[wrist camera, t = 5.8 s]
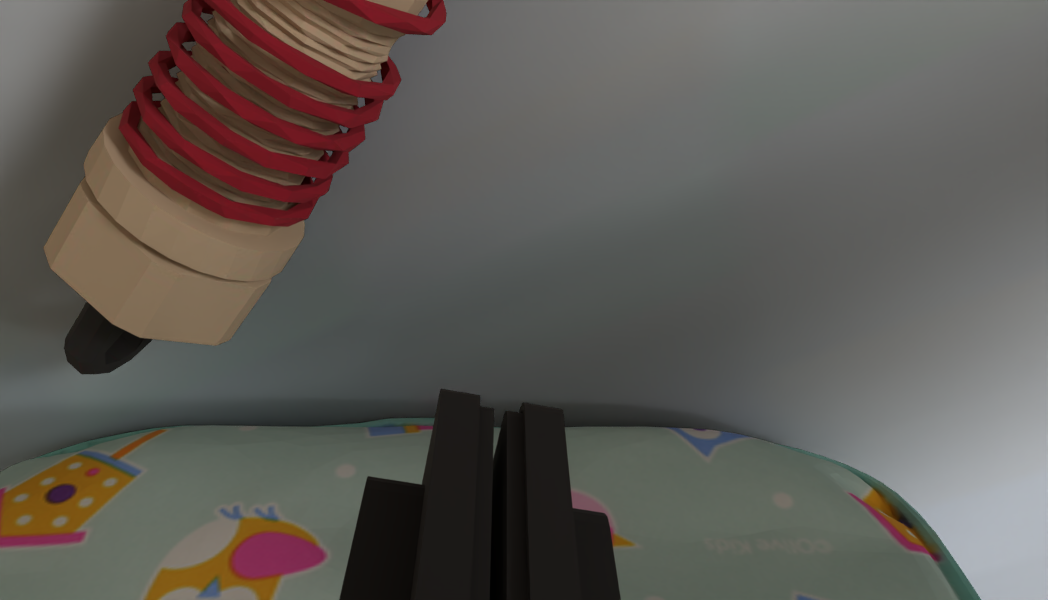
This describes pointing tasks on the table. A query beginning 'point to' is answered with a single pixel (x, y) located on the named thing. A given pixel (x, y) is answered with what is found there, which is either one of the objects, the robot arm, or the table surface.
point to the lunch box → (400, 454)
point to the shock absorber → (220, 167)
